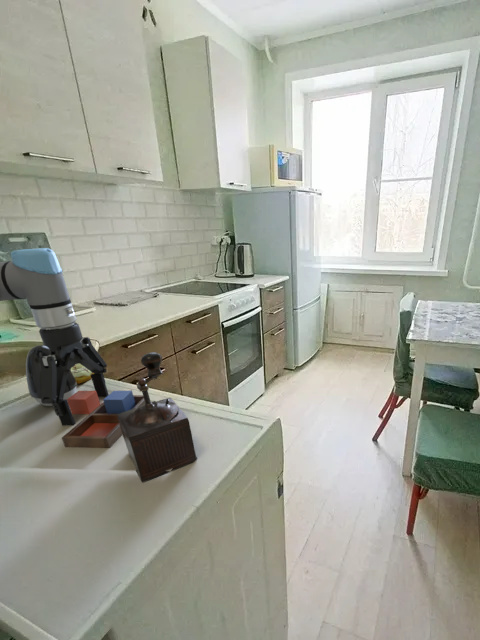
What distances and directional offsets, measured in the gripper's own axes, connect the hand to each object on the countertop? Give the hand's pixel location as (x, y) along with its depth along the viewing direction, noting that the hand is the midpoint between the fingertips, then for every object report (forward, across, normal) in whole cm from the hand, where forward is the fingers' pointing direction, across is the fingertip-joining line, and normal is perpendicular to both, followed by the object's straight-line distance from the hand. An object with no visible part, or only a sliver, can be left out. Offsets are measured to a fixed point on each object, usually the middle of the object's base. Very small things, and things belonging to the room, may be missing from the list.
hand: (87, 410), depth 85 cm
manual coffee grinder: (0, -15, -25) cm, 29 cm away
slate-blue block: (-1, -2, -10) cm, 10 cm away
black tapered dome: (0, +5, +11) cm, 12 cm away
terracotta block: (0, 0, 0) cm, 0 cm away
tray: (0, -6, -10) cm, 12 cm away
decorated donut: (0, +19, +15) cm, 24 cm away
